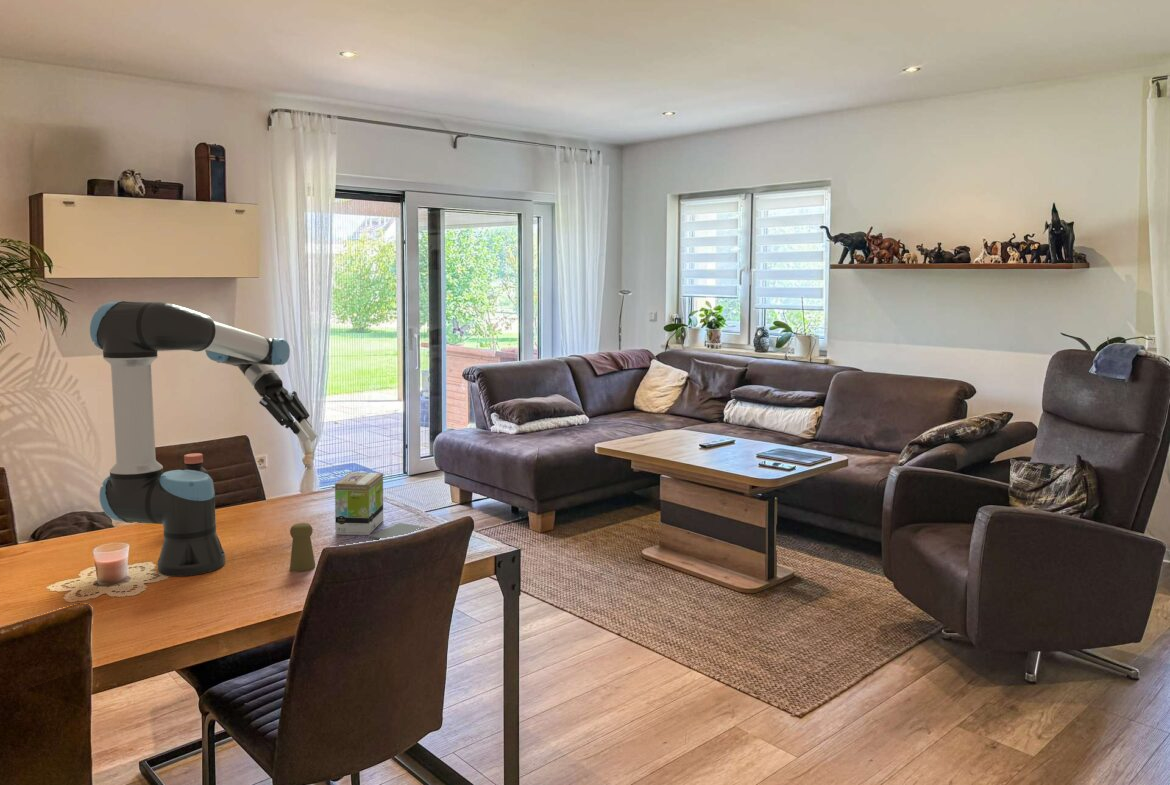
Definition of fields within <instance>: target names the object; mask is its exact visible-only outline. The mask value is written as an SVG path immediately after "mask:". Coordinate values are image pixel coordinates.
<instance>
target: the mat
mask: <svg viewBox="0 0 1170 785" xmlns="http://www.w3.org/2000/svg"><path fill="white" fill-rule="evenodd" d="M420 526H421V527H420ZM418 528H419V529H418ZM424 528H428V526H425V525H424V526H423V525H416V524H408V523H403V522H397V523H396V524H394V525H391V526H389V527H387V528H385V529H383V530H382V529H381V530H380V531H378V532H375V533H372V534H369V535H368V539H370V538H372V539H371V540H377V539H380V538H387V537H393V536H398V535H404V534H408V533H411V532H414V531H417V530H421V529H424ZM416 529H417V530H416Z"/></svg>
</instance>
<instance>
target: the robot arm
mask: <svg viewBox="0 0 1170 785" xmlns="http://www.w3.org/2000/svg"><path fill="white" fill-rule="evenodd" d="M89 336H90V339H91V341H92V342H94V346H96V347H97V348H98V349H100V350H102V356H103V357H102V358H103V360H104V361H106V362H107V363H108V364H109V365H110V369H111V370H110V372H111V388H112V389H111V390H112V392H111V393H112V407H113V426H114V427H113V428H114V444H115V445H114V446H115V464H114V465H113V466H112V467H111V468H110V469H109V475H108V476H107V477H106V478H105V479H104V480H103V481H102V486H101V487H100V489H99V503H100V506H101V509H102V511H103V512H104V514H105V515H106V516H108V517H109V518H110V519H112V520H114V521H117V522H123V523H128V524H133V523H137V524H138V523H140V524H154V525H155V524H156V525H163V527H162V528H163V542H162V545H161V550H160V553H159V554H160V555H159V557H158V559H157V572H158V573H159V574H161V575H164V576H169V577H190V576H191V577H192V576H197V575H203V574H206V573H210V572H214V571H217V570H218V569H220V568H222V567H223V566H225V564H226V553H225V551H224V549H223V546H222V544H221V541H220V538H219V536H218V533H217V526H216V524H217V523H216V521H217V520H216V504H215V503H216V501H215V500H216V499H215V496H216V492H215V487H214V480H213V478H212V476H210V475H209V474H208V473H207V474H206V473H204V472H200V471H195V470H184V469H183V470H182V469H174V470H173V469H172V470H169V471H165V472H164V466H163V465H162V464H161V463H160V462H159V461H157V459H156V458H157V456H156V438H155V420H154V419H155V418H154V401H153V400H154V398H153V380H152V379H153V378H152V377H153V376H152V364H153V362H154V361H155V360H156V359H157V358H158V351H162V352H163V351H191V352H203V351H205V354H206V356H207V357H208V358H209V359H210V360H211V361H214V362H216V363H217V364H218V363H219V364H220V363H221V364H226V365H230V366H235V367H237V368H238V369H239V371H241V373H242V374H243V376H244V377H246V379H247V380H248V381H249V384H251V385H252V387H254V388H253V389H254V390H255V391H256V393H258V395H259V396H260V397H261V399H260V400H259V402H258V403H259V404H260V405H261V406H262V407H264V408H265V409H266V410H267V411H268V413H269V414H270V415H271V416H272V417H273V418H274V420H276V421H277V423H278V424H279V425H280V426H282V427H284V428H285V429H290V430H291V431H292V432H293V434H295V435H296V436H297V438H298V439H299V441H300V442H301V443H302V444H306V443H307V442H308V441H310V443H313V442H314V441H315V440H316V438H317V437H319V436H318V434H317V432H315V430H314V429H313V426H312V425H311V423H309V421H308V418H309V417H310V414H309V412H308V410H307V409H306V408H305V406H304V405H303V403H302V401H301V400H300V399H299V397H298V396H299V395H298V393H297V392H296V391H292V392H289V391H288V390H287V389H286V388H285V387H284V386H283V385H284V384H283V380H282V379H281V377H280V376H279V375H278V374H277V373H276V372H275V369H274V368H273V367H272V366H279V365H280V366H283V365H285V364H286V363H287V362H288V361H289V359H290V352H291V350H290V345H289V343H288V341H287V340H286V339H284V338H278V337H266V336H263V335H259V334H257V333H253V332H250V331H247V330H244V329H239V328H237V327H233V326H230V325H227V324H225V323H221V322H218V321H215V320H214V319H212V317H211V316H209V315H208V314H205V313H202V312H200V311H196V310H194V309H190V308H188V307H185V306H181V305H177V304H174V303H170V302H164V301H155V302H154V301H127V300H121V301H111V302H107V303H104V304H102V305H101V306H100V307H98V308H97V310H96V311H95V312H94V313H93V315H92V318H91V321H90V324H89Z"/></svg>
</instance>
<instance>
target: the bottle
mask: <svg viewBox="0 0 1170 785" xmlns="http://www.w3.org/2000/svg"><path fill="white" fill-rule="evenodd" d="M183 461H184V466H185V467H184V469H183V470H195V471H200V472H204V473H206V474H208V470H207V469H206V468H205V467H203V464H204V455H203V453H199V452H196V453H195V452H194V453H187V454H184V455H183Z"/></svg>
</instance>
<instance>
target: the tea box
mask: <svg viewBox="0 0 1170 785" xmlns="http://www.w3.org/2000/svg"><path fill="white" fill-rule="evenodd" d="M334 487H335V488H334V497H335V498H334V502H335V504H334V507H335V508H334V509H335V510H334V511H335V514H334V517H335V521H334V522H335V523H334V524H335V525H334V526H335V527H334V529H335V532H334V534H335V535H340V536H370V535H371V533H372V532H373V531H374V530H375V529H376V528H377V527H378V526H379V525H380V524H382V522H383V521H384V474H383V473H382V472H349V473H348V474H346V476H343V478H341V479H340V480H339V481H337V482H336V483H334Z"/></svg>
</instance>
